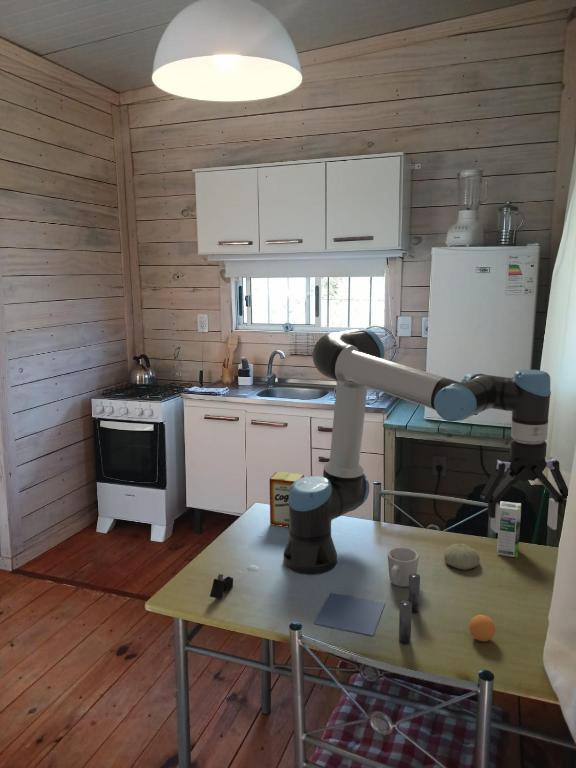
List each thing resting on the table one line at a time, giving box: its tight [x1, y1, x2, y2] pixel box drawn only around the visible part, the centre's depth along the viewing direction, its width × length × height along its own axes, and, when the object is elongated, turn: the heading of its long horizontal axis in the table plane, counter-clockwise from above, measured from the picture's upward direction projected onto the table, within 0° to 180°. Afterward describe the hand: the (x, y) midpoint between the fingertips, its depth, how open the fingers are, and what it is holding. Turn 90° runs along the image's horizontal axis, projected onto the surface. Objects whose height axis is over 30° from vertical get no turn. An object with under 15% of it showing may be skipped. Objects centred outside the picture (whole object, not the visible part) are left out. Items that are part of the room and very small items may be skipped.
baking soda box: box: [269, 471, 305, 528], centre depth 193 cm, size 10×6×16 cm
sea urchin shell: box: [443, 543, 480, 571], centre depth 167 cm, size 9×8×8 cm
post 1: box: [398, 600, 413, 645], centre depth 133 cm, size 3×3×9 cm
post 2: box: [407, 573, 421, 614], centre depth 144 cm, size 3×3×9 cm
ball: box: [468, 614, 496, 642], centre depth 133 cm, size 6×6×6 cm
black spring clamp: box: [209, 573, 234, 600], centre depth 153 cm, size 9×2×6 cm
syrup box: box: [496, 500, 522, 559], centre depth 172 cm, size 6×6×14 cm
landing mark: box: [313, 591, 386, 637], centre depth 144 cm, size 14×14×1 cm
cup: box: [387, 546, 420, 588], centre depth 156 cm, size 11×8×8 cm
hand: (523, 528), depth 138 cm, fingers open, 13 cm apart
